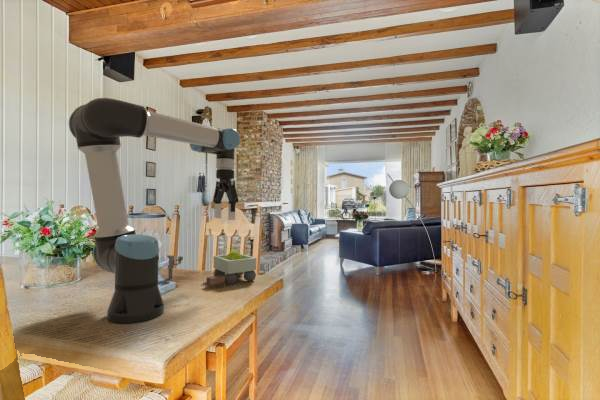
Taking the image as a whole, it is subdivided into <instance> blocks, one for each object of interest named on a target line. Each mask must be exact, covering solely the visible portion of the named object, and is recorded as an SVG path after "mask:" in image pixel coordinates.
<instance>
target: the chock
mask: <svg viewBox="0 0 600 400" xmlns="http://www.w3.org/2000/svg"><path fill="white" fill-rule="evenodd" d="M224 287H226V282H225V277H224V276H222V275H217V276H214V275H211V276H207V277H206V288H208V289H212V290H213V289H218V288H219V289H220V288H224Z"/></svg>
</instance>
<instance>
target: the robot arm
mask: <svg viewBox="0 0 600 400" xmlns="http://www.w3.org/2000/svg"><path fill="white" fill-rule="evenodd" d="M68 128H69V131H70V133H71V134H72V136H73V137H74V138H75V141H76V146H77V149H78V150H79V151H80V152H82V153H83V155H84V157H85V162H86V167H87V172H88V173H87V174H88V180H89V184H90V188H91V194H92V201H93V205H94V206H93V207H94V212H95V216H96V217H95V218H96V222H97V226H98V229H97V231H96V232H95V234H94V235H93V238H94V243H95V244H94V247H93V250H92V257H93V260H94V262H95V263H96V265H97V266H98V267H100V269H102V270H104V271H106V272H108V273H113V274H114V291H113V294H112V297H111V300H110V303H109V305H108V307H107V311H106V312H107V313H106V314H107V316H106V317H107V320H108V321H109V322H111V323H116V324H131V323H132V324H133V323H134V324H135V323H140V322H144V321H145V322H146V321H148V320H152V319H155V318H157V317H160V316H161V315H162V314H163V313H164V311H165V308H164V307H165V304H164V300H163V297H162V294H161V291H160V288H159V263H160V260H159V256H160V254H159V253H160V247H159V240H158V239H157V238H156V237H154V236H153V235H147V234H146V235H145V234H136V229H135V227H133V226H132V225H130V224H129V219H128V212H127V207H126V201H125V194H124V188H123V183H122V177H121V171H120V165H119V159H118V153H117V152H118V151H119V149H120V148H121V147H122V145H121V139H120V138H121V137H123V138H124V137H132V138H137V139H138V138H139V139H140V138H143V136H147V137H150V138H151V137H152V138H158V139H163V140H169V141H174V142H179V143H185V144H189V146H190V149H191V150H192V151H193V152H197V153H203V154H204V153H205V154H211V155H216V156H215V157H216V159H215V163H216V165H215V167H216V171H215V173H216V174H215V177H216V179H218V180H219V181H218V180H217V181H216V182H215V188H214V194H213V198H212V202H213V203H214V219H222V204H223V202H222V200H223V197H224V194H226V197H227V200H228V203H227V204H228V209H227V211H228V212H227V216H228V217H227V218H228V221H235V220H236V204H237V203H239V198H238V197H239V196H238V192H237V188H236V181H235V180H234V179H235V170H234V169H235V165H236V163H235V153H236V152H235V149H236V148H238V147H239V145H240V142H241V137H240V136H241V135H240V133H239V131H238V130H236V129H234V128H225V129H223V128H221V127H220V128H219V127H214V126H211V125H207V124H202V123H199V122H198V123H197V122H194V121H191V120H186V119H182V118H178V117H173V116H170V115H166V114H162V113H158V112H154V111H149V110H148V109H147V108H146V107H145V106H144V105H139V104H137V103H136V104H135V103H132V102H127V101H125V100H124V101H123V100H119V99H114V98H109V97H97V98H94V99H92V100H90V101H89V102H87V103H85V104H82V105H80V106H79V107H77V108H75V109H74V110H73V111H72V113H71V114H70V117H69V119H68Z"/></svg>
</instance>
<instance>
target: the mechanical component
mask: <svg viewBox="0 0 600 400" xmlns="http://www.w3.org/2000/svg"><path fill="white" fill-rule="evenodd" d="M167 257H168V258H169V265H167V267H166V268H167V269H168V274H167V275H168V278H167V279H168V280H172V279H173V269H174V267H175V266H178V265H180V264H182V261H183V258H184V257H183V256H181V255H179V256H178V257H177V259H176V257H175V255H170V254H169V255H168V254H167ZM176 262H177V263H176Z"/></svg>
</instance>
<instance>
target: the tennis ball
mask: <svg viewBox="0 0 600 400" xmlns="http://www.w3.org/2000/svg"><path fill="white" fill-rule="evenodd" d="M241 254H242V253H241V252H240V251H238V250H232V251H230V252H229V253H228V254H226V255H227V260H239V259H242V255H241Z"/></svg>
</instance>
